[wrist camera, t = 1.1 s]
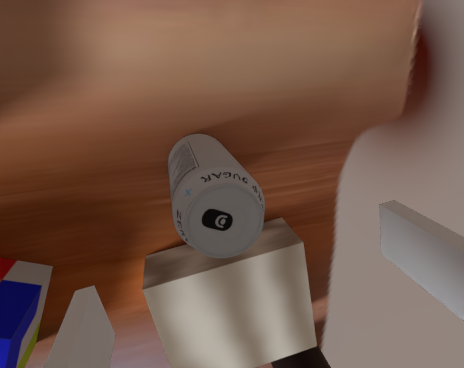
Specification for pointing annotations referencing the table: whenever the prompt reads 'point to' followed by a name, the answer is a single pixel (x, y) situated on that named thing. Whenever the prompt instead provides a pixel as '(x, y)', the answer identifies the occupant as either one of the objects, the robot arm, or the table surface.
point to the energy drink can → (213, 198)
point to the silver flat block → (232, 302)
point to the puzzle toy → (21, 309)
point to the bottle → (303, 360)
